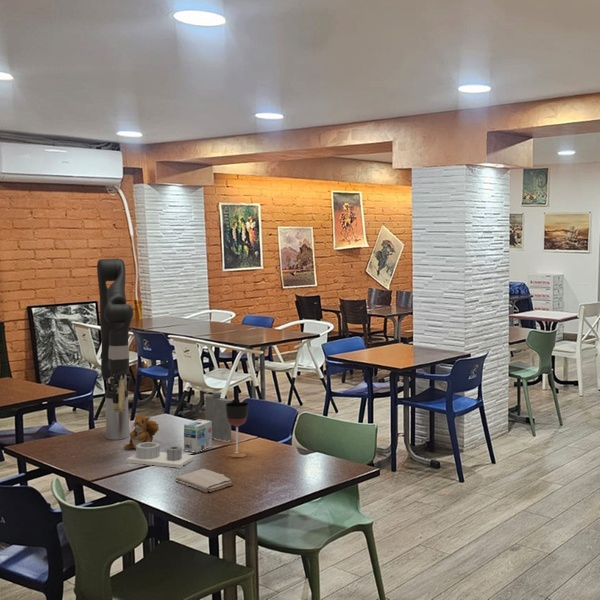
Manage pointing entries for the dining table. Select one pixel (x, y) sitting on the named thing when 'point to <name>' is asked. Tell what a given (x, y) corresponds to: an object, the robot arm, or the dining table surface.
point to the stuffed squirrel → (142, 431)
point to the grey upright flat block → (218, 416)
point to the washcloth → (204, 479)
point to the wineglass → (237, 415)
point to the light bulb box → (197, 435)
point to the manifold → (159, 455)
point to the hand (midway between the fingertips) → (119, 401)
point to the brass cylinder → (120, 398)
